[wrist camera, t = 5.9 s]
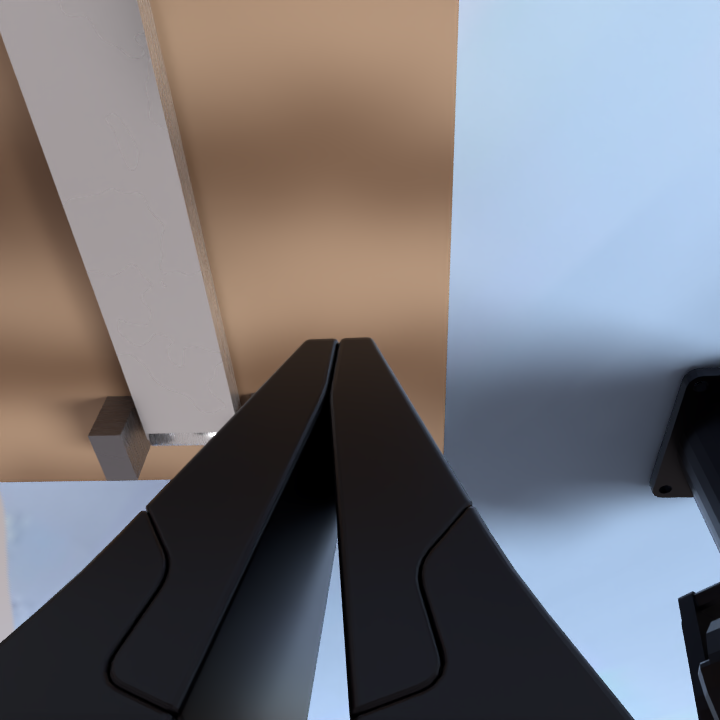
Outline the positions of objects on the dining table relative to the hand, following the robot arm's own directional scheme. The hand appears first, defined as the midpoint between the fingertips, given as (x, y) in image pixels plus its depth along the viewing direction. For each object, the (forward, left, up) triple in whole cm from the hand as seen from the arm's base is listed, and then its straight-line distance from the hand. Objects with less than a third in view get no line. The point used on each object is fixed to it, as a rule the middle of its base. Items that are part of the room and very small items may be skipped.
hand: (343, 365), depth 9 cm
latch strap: (-3, +6, -9) cm, 11 cm away
